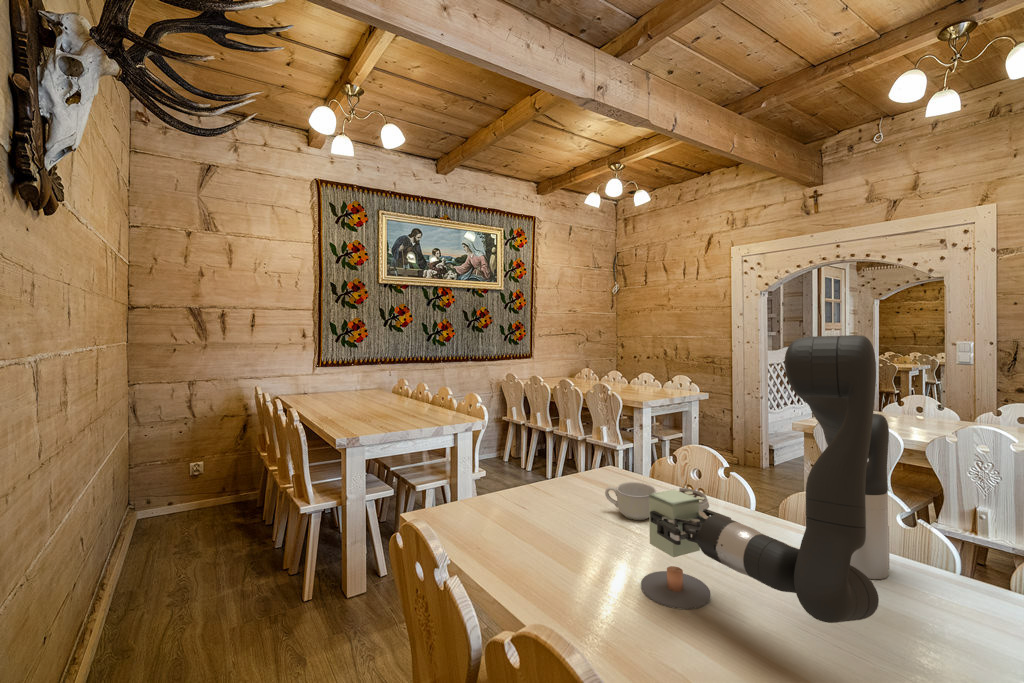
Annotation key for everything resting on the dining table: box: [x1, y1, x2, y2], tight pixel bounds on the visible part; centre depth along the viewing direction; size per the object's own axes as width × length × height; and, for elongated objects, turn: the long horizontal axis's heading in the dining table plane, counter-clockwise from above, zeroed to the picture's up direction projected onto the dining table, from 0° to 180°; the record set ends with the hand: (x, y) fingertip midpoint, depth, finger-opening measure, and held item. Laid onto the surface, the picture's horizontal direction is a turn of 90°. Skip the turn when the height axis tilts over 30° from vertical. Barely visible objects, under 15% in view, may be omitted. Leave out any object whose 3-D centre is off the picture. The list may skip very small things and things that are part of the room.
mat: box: [640, 570, 712, 610], centre depth 93 cm, size 13×13×1 cm
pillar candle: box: [666, 565, 684, 592], centre depth 93 cm, size 3×3×4 cm
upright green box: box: [648, 489, 701, 558], centre depth 93 cm, size 7×7×10 cm
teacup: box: [604, 481, 657, 521], centre depth 132 cm, size 14×11×8 cm
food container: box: [678, 487, 710, 512], centre depth 118 cm, size 12×6×10 cm, turn 168°
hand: (665, 512), depth 95 cm, fingers closed on upright green box, 6 cm apart
